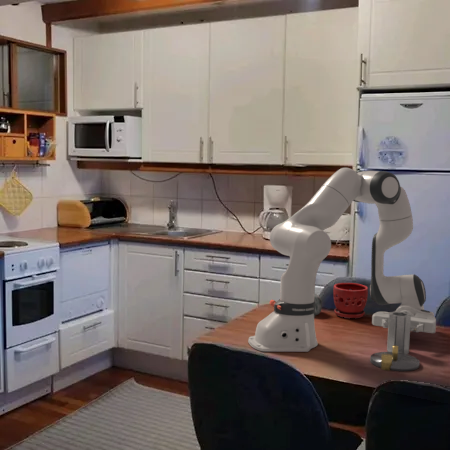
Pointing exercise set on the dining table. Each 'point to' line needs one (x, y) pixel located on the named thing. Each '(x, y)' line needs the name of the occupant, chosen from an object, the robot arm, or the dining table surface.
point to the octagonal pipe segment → (399, 331)
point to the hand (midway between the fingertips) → (400, 327)
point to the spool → (317, 304)
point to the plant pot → (350, 299)
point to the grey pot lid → (394, 360)
